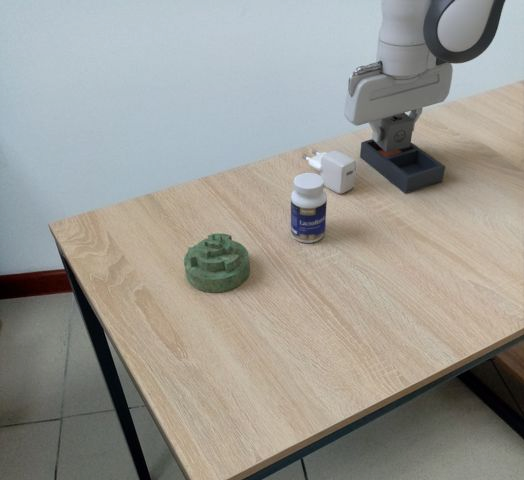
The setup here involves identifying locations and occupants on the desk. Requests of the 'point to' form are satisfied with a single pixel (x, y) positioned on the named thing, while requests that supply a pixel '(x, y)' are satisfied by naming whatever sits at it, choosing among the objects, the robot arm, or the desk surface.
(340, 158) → the power adapter
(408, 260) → the desk surface
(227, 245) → the decorative artifact
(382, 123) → the dice cube
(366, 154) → the compartment tray
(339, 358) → the desk surface
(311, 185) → the pill bottle
